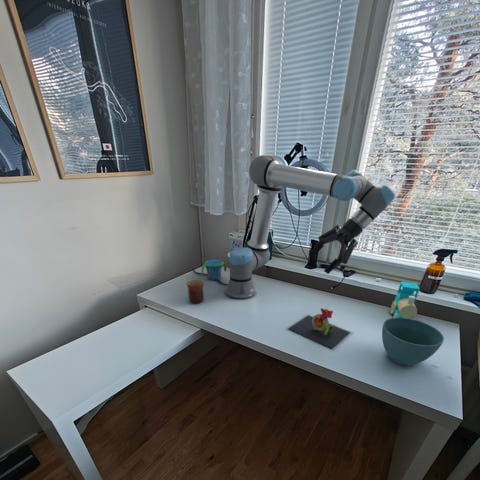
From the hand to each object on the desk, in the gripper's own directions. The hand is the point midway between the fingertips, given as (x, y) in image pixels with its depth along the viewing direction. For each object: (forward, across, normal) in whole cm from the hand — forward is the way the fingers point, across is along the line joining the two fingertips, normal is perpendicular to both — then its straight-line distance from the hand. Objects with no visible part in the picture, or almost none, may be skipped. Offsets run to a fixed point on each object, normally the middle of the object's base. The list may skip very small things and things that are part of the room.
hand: (318, 263), depth 116 cm
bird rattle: (+18, -23, -6) cm, 30 cm away
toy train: (-5, -24, -41) cm, 48 cm away
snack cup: (+50, +46, +8) cm, 69 cm away
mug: (+53, +21, +24) cm, 62 cm away
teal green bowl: (+3, -46, -19) cm, 50 cm away
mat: (+19, -22, -6) cm, 29 cm away
